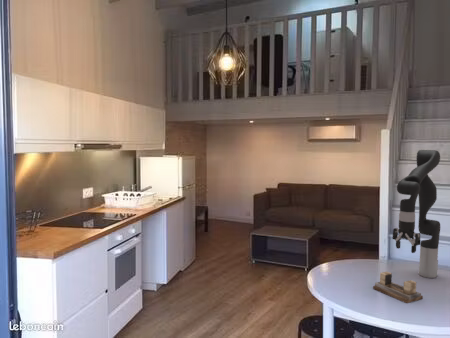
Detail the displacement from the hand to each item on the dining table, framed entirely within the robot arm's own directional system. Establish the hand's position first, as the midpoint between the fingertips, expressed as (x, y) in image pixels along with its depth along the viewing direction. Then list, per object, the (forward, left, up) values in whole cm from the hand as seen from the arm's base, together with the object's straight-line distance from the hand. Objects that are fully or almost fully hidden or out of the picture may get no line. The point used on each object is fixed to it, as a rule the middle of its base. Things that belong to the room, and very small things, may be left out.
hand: (405, 250), depth 195 cm
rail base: (+6, +1, -22) cm, 23 cm away
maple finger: (+6, +8, -20) cm, 22 cm away
